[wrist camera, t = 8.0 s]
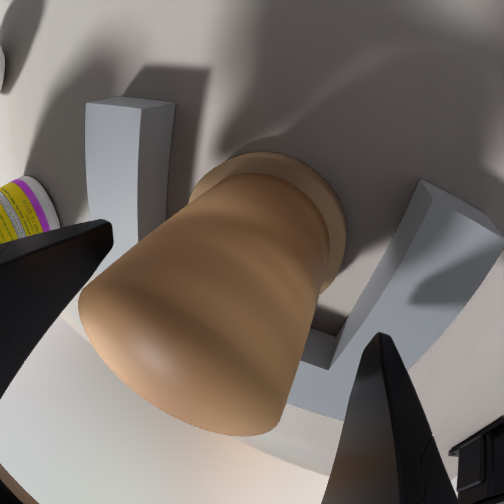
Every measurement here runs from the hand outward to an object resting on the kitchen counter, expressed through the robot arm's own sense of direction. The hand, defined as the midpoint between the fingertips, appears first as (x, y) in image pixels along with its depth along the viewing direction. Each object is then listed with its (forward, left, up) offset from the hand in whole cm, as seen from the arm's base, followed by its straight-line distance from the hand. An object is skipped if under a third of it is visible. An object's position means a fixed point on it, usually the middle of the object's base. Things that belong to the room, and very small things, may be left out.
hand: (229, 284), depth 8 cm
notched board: (0, +2, -4) cm, 4 cm away
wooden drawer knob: (0, 0, -4) cm, 4 cm away
